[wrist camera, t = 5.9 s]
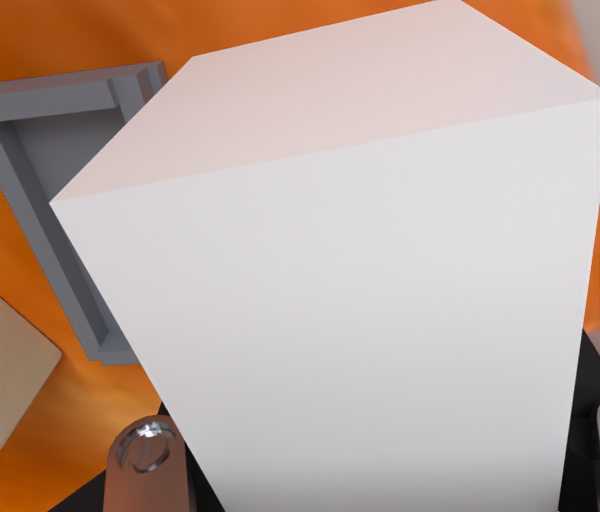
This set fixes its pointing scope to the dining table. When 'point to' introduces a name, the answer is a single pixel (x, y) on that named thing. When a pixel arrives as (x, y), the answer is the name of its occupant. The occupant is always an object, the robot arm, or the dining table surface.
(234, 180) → the white box
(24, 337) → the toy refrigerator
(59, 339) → the dining table surface
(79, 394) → the dining table surface
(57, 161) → the tray
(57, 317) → the dining table surface
